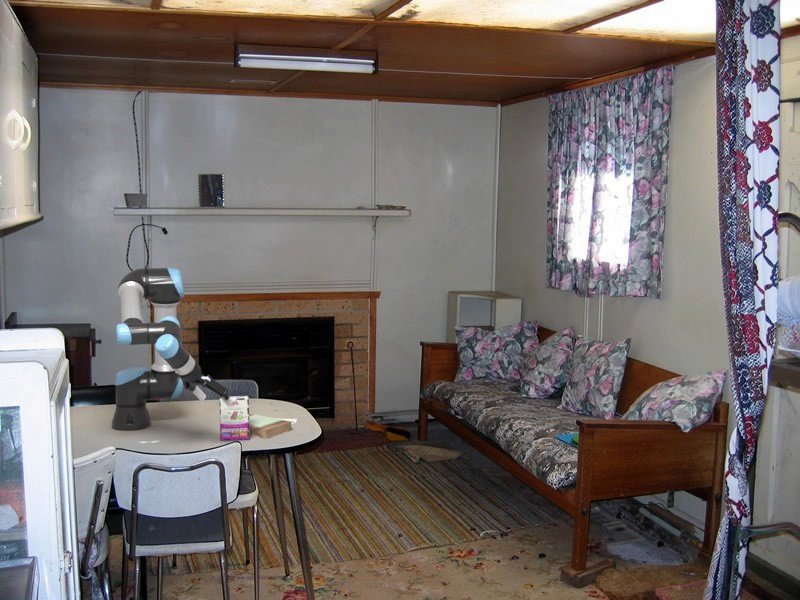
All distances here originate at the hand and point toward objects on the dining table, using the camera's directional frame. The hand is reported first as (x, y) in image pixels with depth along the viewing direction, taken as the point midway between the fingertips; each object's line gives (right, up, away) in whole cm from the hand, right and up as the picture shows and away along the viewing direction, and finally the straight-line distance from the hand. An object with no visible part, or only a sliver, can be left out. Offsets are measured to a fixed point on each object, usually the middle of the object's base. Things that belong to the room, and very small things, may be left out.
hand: (217, 401), depth 318 cm
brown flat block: (+11, -14, +23) cm, 29 cm away
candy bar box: (+5, -16, +10) cm, 20 cm away
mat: (+11, -11, +23) cm, 28 cm away
